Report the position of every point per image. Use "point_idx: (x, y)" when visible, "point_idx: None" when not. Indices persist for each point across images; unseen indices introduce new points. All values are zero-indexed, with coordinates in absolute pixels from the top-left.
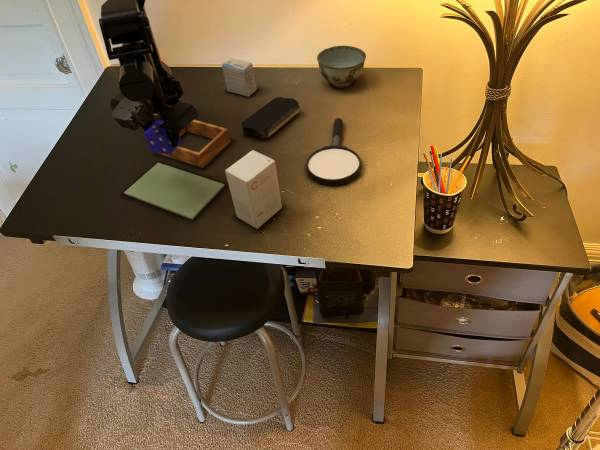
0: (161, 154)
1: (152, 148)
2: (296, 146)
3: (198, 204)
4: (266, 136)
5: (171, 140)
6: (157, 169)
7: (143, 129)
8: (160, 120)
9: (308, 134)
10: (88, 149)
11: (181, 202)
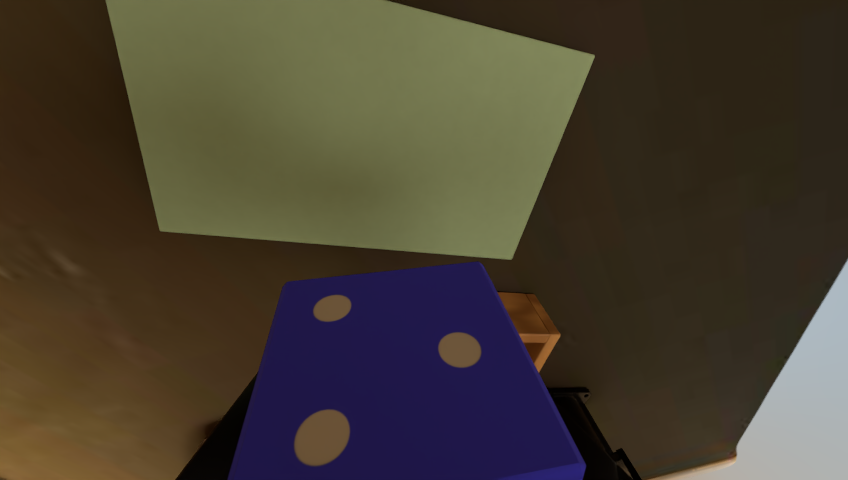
0: (518, 294)
1: (463, 290)
2: (96, 436)
3: (159, 66)
4: (201, 444)
5: (226, 437)
6: (498, 228)
7: (612, 462)
8: (573, 392)
9: (111, 472)
10: (770, 247)
11: (262, 56)
